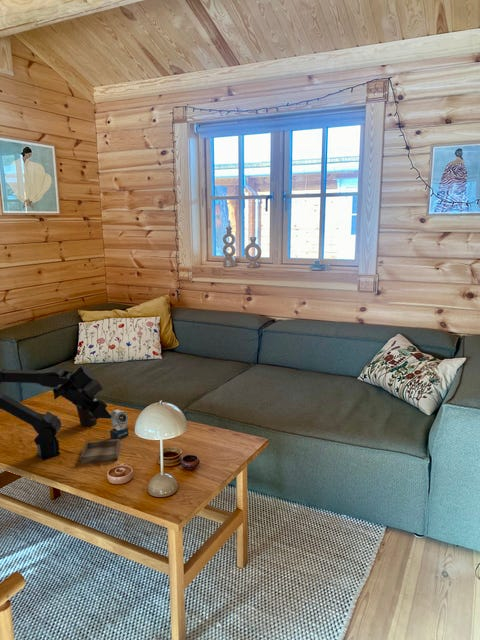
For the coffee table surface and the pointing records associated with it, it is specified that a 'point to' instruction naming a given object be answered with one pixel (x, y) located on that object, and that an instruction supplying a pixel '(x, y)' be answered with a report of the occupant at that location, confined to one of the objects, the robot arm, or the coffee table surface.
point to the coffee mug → (86, 417)
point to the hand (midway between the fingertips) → (105, 413)
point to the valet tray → (100, 451)
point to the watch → (121, 419)
